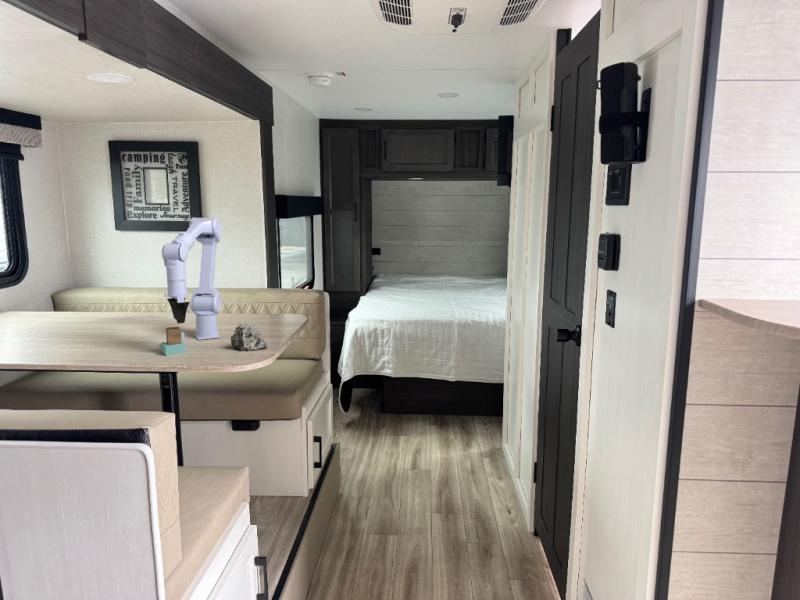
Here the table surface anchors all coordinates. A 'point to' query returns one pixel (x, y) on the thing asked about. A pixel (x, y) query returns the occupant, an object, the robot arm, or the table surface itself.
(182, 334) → the bluegrey block
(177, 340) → the walnut block
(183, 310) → the robot arm
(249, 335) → the rock
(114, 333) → the table surface
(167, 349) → the teal slab
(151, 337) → the table surface
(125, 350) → the table surface
